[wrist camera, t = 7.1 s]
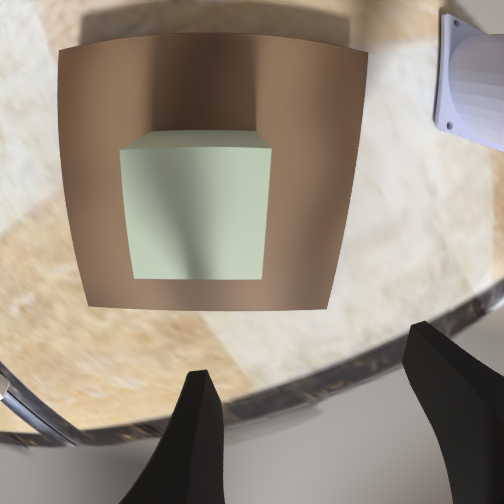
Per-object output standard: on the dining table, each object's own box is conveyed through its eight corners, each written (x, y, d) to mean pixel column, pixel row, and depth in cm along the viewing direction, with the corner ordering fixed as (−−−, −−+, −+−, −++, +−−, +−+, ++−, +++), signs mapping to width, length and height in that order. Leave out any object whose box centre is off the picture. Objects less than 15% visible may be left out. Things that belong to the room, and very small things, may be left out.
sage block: (256, 131, 13) (271, 148, 9) (250, 226, 15) (261, 279, 11) (151, 131, 12) (119, 149, 8) (156, 226, 14) (134, 278, 10)
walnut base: (347, 56, 13) (368, 52, 11) (316, 285, 20) (326, 309, 18) (80, 54, 12) (58, 50, 10) (100, 282, 18) (88, 306, 16)
